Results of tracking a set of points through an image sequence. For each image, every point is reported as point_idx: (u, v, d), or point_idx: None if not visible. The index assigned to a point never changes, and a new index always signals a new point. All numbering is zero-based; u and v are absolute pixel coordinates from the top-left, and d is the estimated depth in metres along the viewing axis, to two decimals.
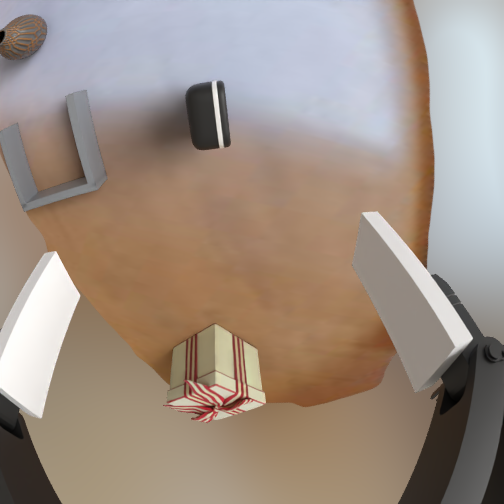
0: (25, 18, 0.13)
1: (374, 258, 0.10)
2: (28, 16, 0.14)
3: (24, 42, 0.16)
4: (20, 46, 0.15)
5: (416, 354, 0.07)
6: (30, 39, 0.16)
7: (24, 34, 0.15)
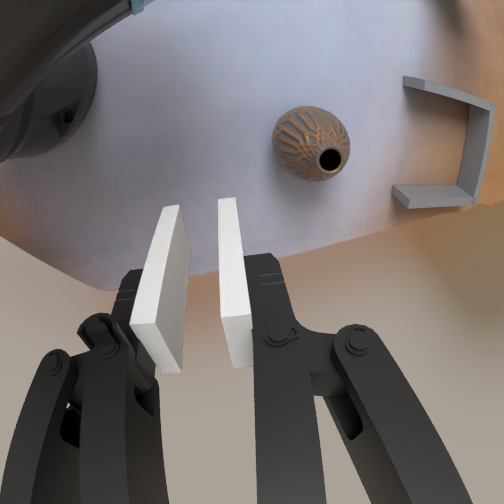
0: (297, 123, 0.20)
1: None
2: (292, 121, 0.20)
3: (342, 126, 0.20)
4: (346, 133, 0.21)
5: None
6: (337, 119, 0.21)
7: (333, 122, 0.20)
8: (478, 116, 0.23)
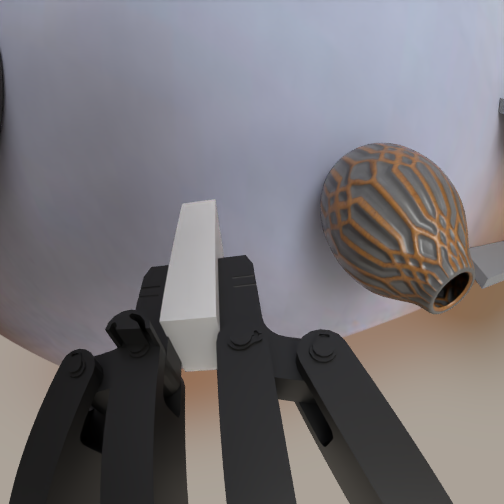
0: (395, 196, 0.09)
1: None
2: (381, 187, 0.09)
3: (461, 201, 0.09)
4: None
5: None
6: None
7: (455, 198, 0.08)
8: None
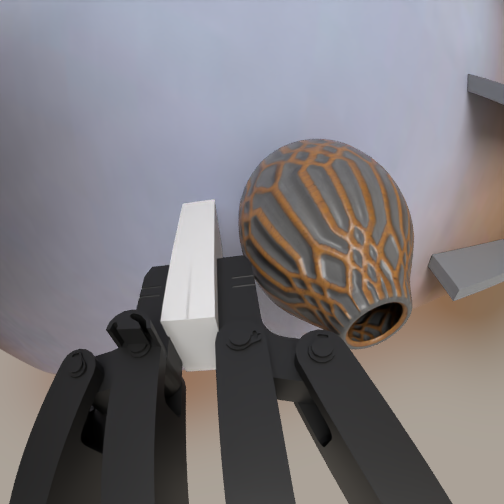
0: (295, 205, 0.08)
1: None
2: (281, 196, 0.08)
3: (404, 204, 0.08)
4: (411, 221, 0.08)
5: None
6: (391, 181, 0.08)
7: (388, 202, 0.07)
8: None
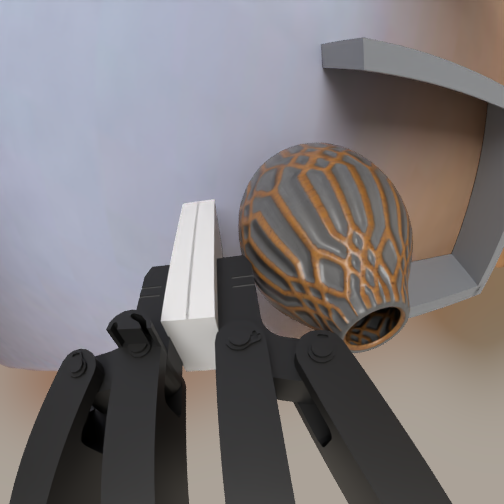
0: (295, 210, 0.08)
1: None
2: (280, 200, 0.08)
3: (404, 209, 0.08)
4: (410, 226, 0.08)
5: None
6: (391, 185, 0.08)
7: (388, 206, 0.07)
8: None
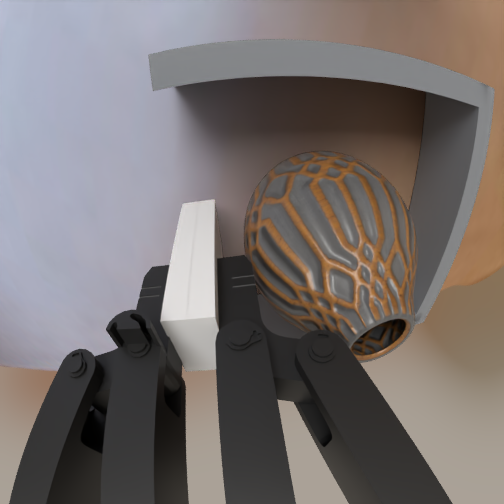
0: (306, 218, 0.08)
1: None
2: (291, 208, 0.08)
3: (411, 222, 0.08)
4: (416, 239, 0.08)
5: None
6: (399, 198, 0.08)
7: (397, 219, 0.07)
8: (447, 123, 0.10)
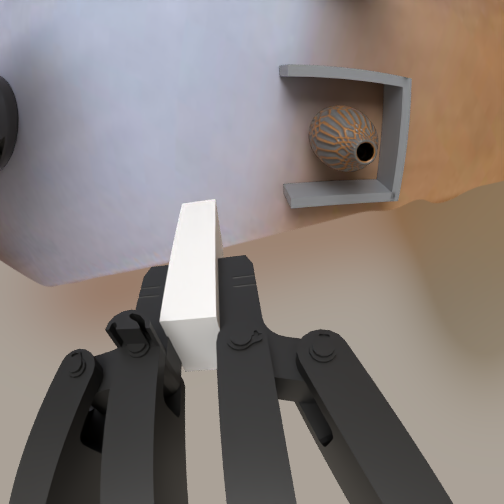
0: (337, 118, 0.22)
1: None
2: (331, 116, 0.23)
3: (372, 125, 0.23)
4: (375, 131, 0.23)
5: None
6: None
7: (366, 121, 0.22)
8: (392, 96, 0.24)
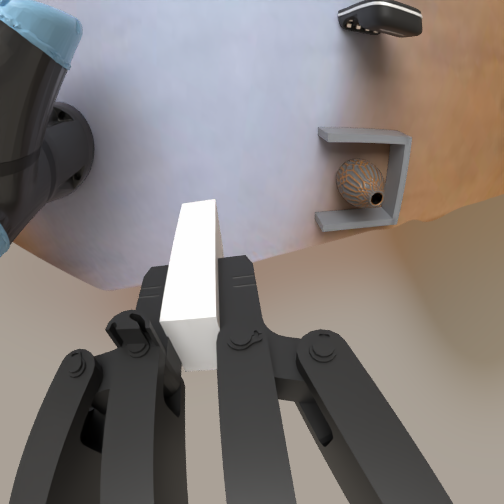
0: (358, 173, 0.34)
1: None
2: (355, 171, 0.34)
3: (382, 176, 0.34)
4: None
5: None
6: (379, 171, 0.35)
7: (378, 174, 0.34)
8: (396, 149, 0.36)
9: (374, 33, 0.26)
